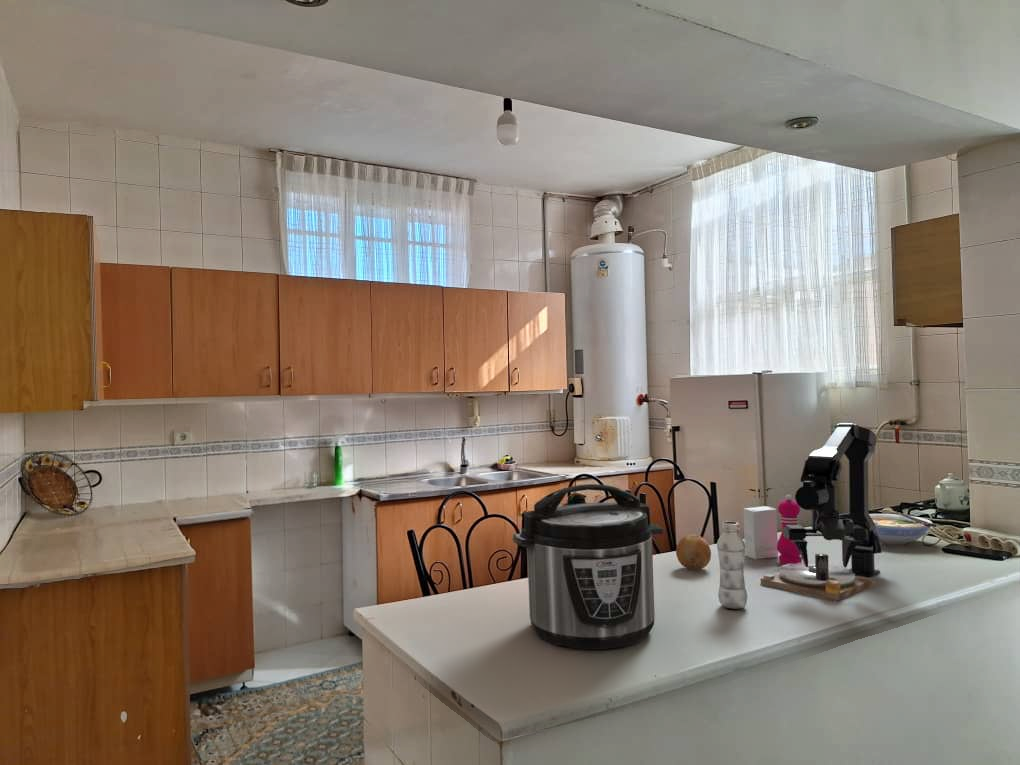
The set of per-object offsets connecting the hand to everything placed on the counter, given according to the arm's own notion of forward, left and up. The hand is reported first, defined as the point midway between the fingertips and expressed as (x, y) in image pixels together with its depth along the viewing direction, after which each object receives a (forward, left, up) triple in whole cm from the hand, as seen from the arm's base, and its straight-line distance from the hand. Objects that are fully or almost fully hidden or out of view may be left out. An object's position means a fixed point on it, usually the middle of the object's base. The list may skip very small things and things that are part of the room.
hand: (825, 566), depth 172 cm
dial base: (-5, -5, -6) cm, 10 cm away
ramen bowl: (-69, -12, -7) cm, 71 cm away
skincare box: (-22, -31, -7) cm, 39 cm away
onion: (+5, -36, -7) cm, 37 cm away
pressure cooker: (+63, -20, -7) cm, 66 cm away
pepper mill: (-21, -21, -7) cm, 31 cm away
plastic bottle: (+27, -9, -7) cm, 29 cm away
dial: (-5, -5, -5) cm, 9 cm away
